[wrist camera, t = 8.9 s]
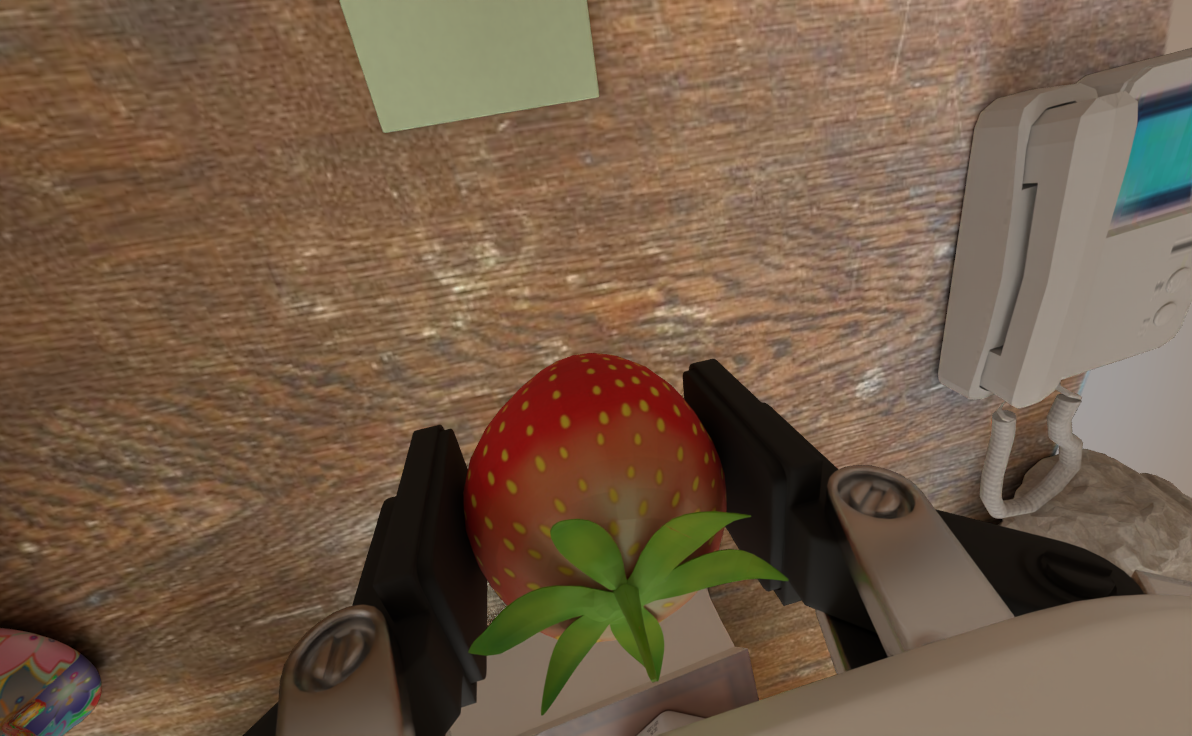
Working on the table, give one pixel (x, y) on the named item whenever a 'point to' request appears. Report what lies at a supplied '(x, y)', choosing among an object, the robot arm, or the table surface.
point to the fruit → (597, 513)
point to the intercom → (1069, 249)
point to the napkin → (470, 57)
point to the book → (614, 683)
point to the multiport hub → (668, 723)
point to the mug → (43, 685)
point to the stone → (1114, 516)
